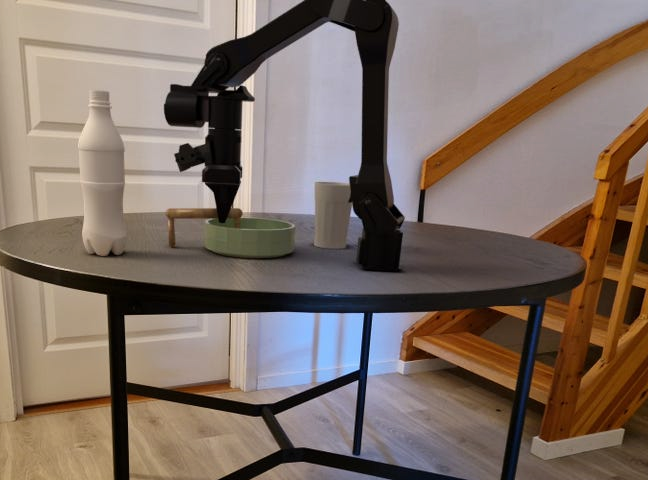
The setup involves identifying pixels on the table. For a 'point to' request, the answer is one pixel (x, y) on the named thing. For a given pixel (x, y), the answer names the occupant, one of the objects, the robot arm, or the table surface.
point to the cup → (332, 214)
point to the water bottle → (102, 179)
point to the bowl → (250, 237)
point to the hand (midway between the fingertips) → (222, 221)
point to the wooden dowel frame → (197, 217)
